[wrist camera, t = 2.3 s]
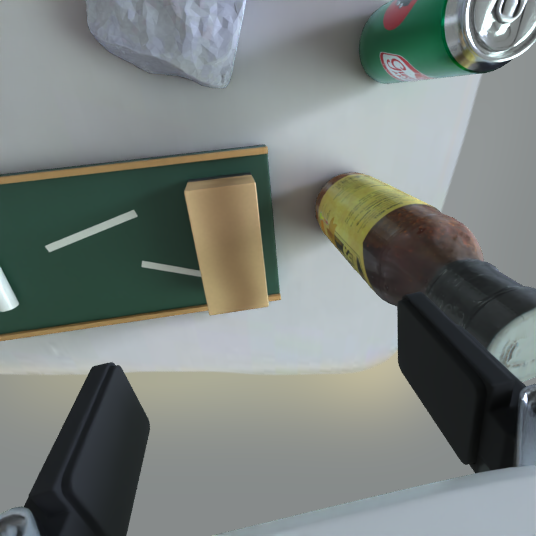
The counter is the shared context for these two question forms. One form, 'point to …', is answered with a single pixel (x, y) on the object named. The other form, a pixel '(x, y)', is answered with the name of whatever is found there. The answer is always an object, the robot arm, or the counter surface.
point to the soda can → (444, 38)
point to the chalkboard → (114, 240)
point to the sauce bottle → (429, 264)
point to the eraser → (228, 241)
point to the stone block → (171, 35)
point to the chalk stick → (6, 294)
